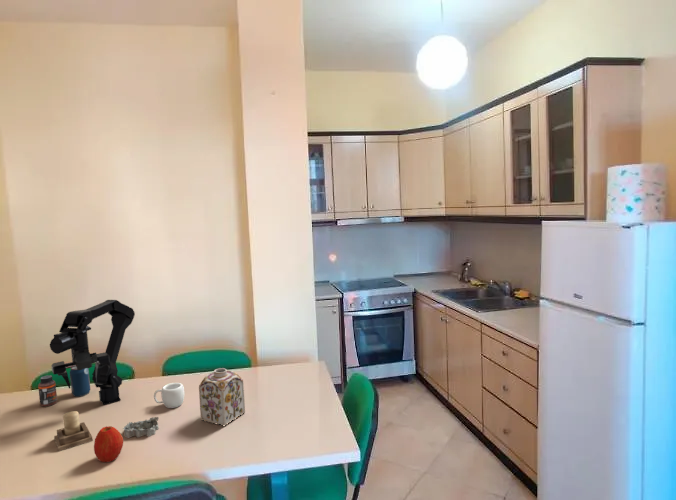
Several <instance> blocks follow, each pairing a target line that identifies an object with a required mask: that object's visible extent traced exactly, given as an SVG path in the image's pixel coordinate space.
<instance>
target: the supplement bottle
mask: <svg viewBox="0 0 676 500" xmlns="http://www.w3.org/2000/svg"><path fill="white" fill-rule="evenodd" d="M39 379H40V382H39V383H38V384H37V385H38V386H37V387H38V396H39V397H38V398H39V405H40V407H51V406H53V405H55V404H57V403H58V394H57V393H58V392H57V386H56V381H55V380H53V375H49V374H48V375H44V376H41V377H40V378H39Z"/></svg>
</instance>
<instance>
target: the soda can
mask: <svg viewBox="0 0 676 500" xmlns="http://www.w3.org/2000/svg"><path fill="white" fill-rule="evenodd" d="M69 382H70V389H71V390H70V391H71V394H72V395H73V396H74V397H77V398H79V397H85V396H86V395H88V394H89V393H90V391H91V383H90V371H89V368H85V369H82V370H77V367H71V368H70V370H69Z"/></svg>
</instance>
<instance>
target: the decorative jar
mask: <svg viewBox="0 0 676 500" xmlns="http://www.w3.org/2000/svg"><path fill="white" fill-rule="evenodd" d="M244 388H245V386H244V379H243V378H242V377H241V375H239V374H238V373H237V372H236V371H232V370H229V369H226V368H224V367H222V368H221V367H219V368H216V369H214V370H213V371H212V372H210V373H208V374H206V375H205V376H204V378H203V379H202V380H201V382H200V384H199V385H198V393H199V395H198V396H199V410H200V419H201V421H202V420H204V421H203V422H206V421H209V422H213V423H217V424H221V425H226V424H227V423H229V422H230V421H232V420H234V419H235V418H237V417H238V416H240V415H241V416H243V415H244V414H243V413H245V414H246V403H245V402H246V401H245V389H244ZM242 414H243V415H242ZM241 416H240V417H241ZM238 418H239V417H238ZM238 418H237V419H238ZM235 420H236V419H235ZM235 420H234V421H235ZM209 422H208V423H209ZM232 422H233V421H232ZM213 423H212V424H213ZM217 424H216V425H217ZM229 424H230V423H229ZM221 425H220V426H221Z"/></svg>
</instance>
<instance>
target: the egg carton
mask: <svg viewBox="0 0 676 500" xmlns="http://www.w3.org/2000/svg"><path fill="white" fill-rule="evenodd" d="M158 421H159V416H154V417H149V419H145V420H138V421H136V422H133V421H131V422H130V421H129V422H128V423H126V425H125V426H124V428H122V430H123V433H124V434H123V435H124V437H125V438H127V439H129V438H131V437H134V436H135V437H137V438H141V437H142V436H147V437H151V436H155V434H156V431H157V430H159V422H158Z"/></svg>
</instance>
